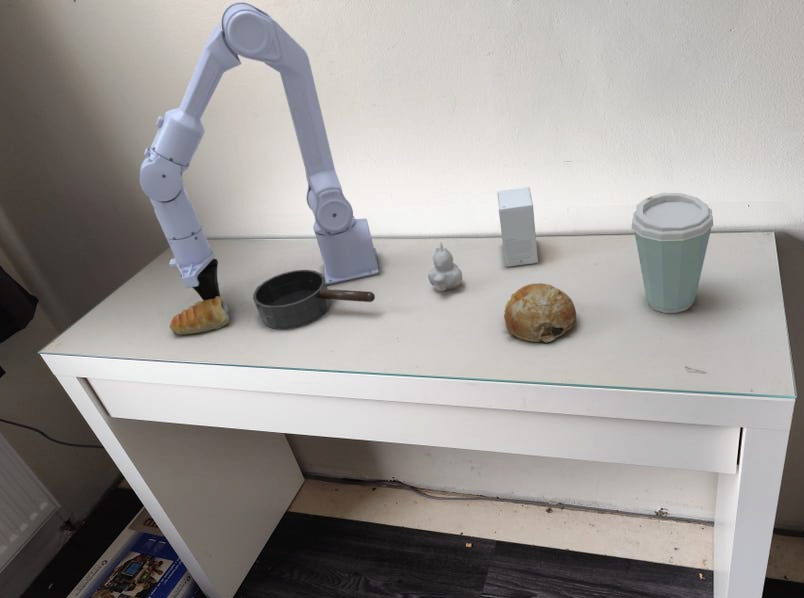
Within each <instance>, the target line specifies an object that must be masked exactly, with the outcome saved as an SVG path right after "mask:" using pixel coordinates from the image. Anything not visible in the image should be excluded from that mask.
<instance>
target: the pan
mask: <svg viewBox="0 0 804 598" xmlns="http://www.w3.org/2000/svg"><path fill="white" fill-rule="evenodd" d="M321 289H329V287H328V285H327V283H326V280H325V275H323V273H321V272H319V271H317V270H314V269H313V270H312V269H296V270H291V271H286V272H282V273H279V274H277V275H275V276H273V277H271V278H268V279H267V280H265V281H263V282H262V283H261V284H260V285H258V286H257V287H256V289H255V290H254V291H253V294H252V300H253V303H254V306H255V308H256V311H257V313H258V317H259V319H260V321H261V322H262V324H263V325H265V327H267V328H269V329H274V330H292V329H296V328H297V329H298V328H300V327H303V326H307V325H310V324H311V323H313V322H316V321H317V320H319V319H320V318H322V317H323V316H324V315H325V314H326V313H327V312H328V311H329V310H330V308H331V306H332V300H331V299H321V298H320V297H319V292H320V290H321Z"/></svg>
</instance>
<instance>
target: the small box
mask: <svg viewBox="0 0 804 598" xmlns="http://www.w3.org/2000/svg"><path fill="white" fill-rule="evenodd" d="M496 194H497V201H498V215H499V216H498V217H499V223H500V225H499V226H500V233H501V241H502V249H503V257H504V264H505V267H506V268H509V267H516V266H525V265H533V264H538V263H539V255H538V246H537V245H538V244H537V234H536V224H535V223H536V222H535V213H534V212H535V211H534V203H533V198H532V193H531V188H530V187H527V186H526V187H519V188H513V189H505V190H504V189H503V190H498V191H497V192H496Z"/></svg>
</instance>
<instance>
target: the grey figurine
mask: <svg viewBox="0 0 804 598" xmlns="http://www.w3.org/2000/svg"><path fill="white" fill-rule="evenodd" d="M432 261H433V266H434V267H432V268H431V269H430V270H429V272H428V274H427V278H428V281H429V283H430V285H432V286H434V287H435V288H436V290H437V291H445V290H452V289H455V288H456V287H458V286H460V284H461V282H462V281H463V273H462V270H461V269H460V268H459V266H458V264H456V263H454V258H453V254H452V253H451V252H450V251H449V250H448V249H447V248H444V246H443V243H442V242H440V244H439V248H437V247H436V248H435V250H434V253H433V256H432Z"/></svg>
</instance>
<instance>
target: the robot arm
mask: <svg viewBox="0 0 804 598" xmlns="http://www.w3.org/2000/svg"><path fill="white" fill-rule="evenodd" d="M220 24H221V25H220ZM239 56H240V57H242V58H245V59H248V60H252V61H256V62H262V63H264V65H267V67H269V68H271V69H273V70H275V71H276V72H278V73H279V74H280V78H281V82H282V86H283V90H284V93H285V97H286V102H287V105H288V109H289V113H290V116H291V120H292V124H293V128H294V132H295V135H296V136H295V137H296V139H297V143H298V147H299V151H300V155H301V159H302V161H303V162H302V163H303V165H304V166H303V167H304V171H305V176H306V177H305V178H306V181H307V192H306V197H305V198H306V203H307V206H308V208H309V209H310V210H311V212H312V214H313V216H314V220H315V221H314V224H313V225H312V228H313V231H314V234H315V239H316V241H317V245H318V248H319V253H320V255H321V258H322V261H323V269H324V277H325V280H326V283H327V286H328V285H332V284H333V285H334V284H336V283H341V282H346V281H350V280H356V279H360V278H364V277H369V276H374V275H378V274H379V272H380V271H379V266H378V260H377V259H378V258H379V257H378V252H377V249H376V247H374V242H373V238H372V234H371V230H370V226H369V222H368V219H367V218H355V216H354V209H353V207H352V204H351V203H350V202H349V200H348V199H347V198H346V196H345V195H344V193H343V192H344V191H343V188H342V185H341V182H340V179H339V176H338V174H337V171H336V168H335V164H334V163H335V162H334V159H333V155H332V150H331V147H330V143H329V139H328V135H327V130H326V125H325V122H324V117H323V113H322V109H321V105H320V101H319V97H318V93H317V87H316V84H315V79H314V75H313V71H312V66H311V63H310V58H309V55H308V53H307V52H306V50H305V49H304V47H302V46H301V45H300V44H299V43H298V42H297V41H296V40H295V39H294V37H292V36H291V35H290V34H289V33H288V32H287V31H286V30H285V28H283V27H282V26H281V25H280V24H279V23H278V22H277V21H276V20H275V19H274V18H273V17H272V16H271V15H270V14H269V13H268V12H266V11H263V10H262V9H260V8H258V7H256V6H255V5H252V4H250V3H248V2H244V1H241V2H240V1H239V2H234V3H232V4H230V5H228V6H227V7H226V9H224V11H223V13H222V16H221V21H220V23H217V24H216V26H215V27H214V29H212V32H211V33H210V35H209V37H208V39H207V40H206V42H205V43H204V46H203V48H202V51H201V52H200V56H199V58H198V60H197V63H196V65H195V68H194V71H193V73H192V75H191V78H190V80H189V83H188V85H187V88H186V90H185V93H184V94H183V97H182V100H181V102H180V105H179V106H178V107H176V108H173V109H169V110H166V112H165V113H164V116H161V115H159V116H158V117H157V120H156V123H155V127H157V128H158V129H157V132H156V134H155V136H154V139H153V141H152V143H151V146H150V147H146V148H145V150H144V152H143V153H144V154H143V155H144V156H145V157H146V158H144V159H143V161H142V163H141V165H140V170H139V171H140V172H139V185H140V189H141V190H142V192H143V193H144V194H145V196H147V197H148V198H149V201H150V203H151V205H152V206H153V209H154V211H153V212H154V214H155V216H156V218H157V220H158V223H159V226H160V227H161V230H162V232H163V234H164V236H165V238H166V241H167V243H168V245H169V248H170V250H171V252H172V255H173V258H171V259H170V261H169V262H168V263H169V264H168V265H169V266H170V268H177V269H178V270H179V273H180V278H181V281H182V283H183V286H184V287H185V289H191V288H192V289H193V290H194V291H195V292H196V293H197V294H198V296H199V297H200V298H201V299H202V301H204V300H210V299H215V297H216V296H219V297H221V293H220V287H219V282H218V281H219V280H218V265H219V261H218V259H217V258H215V252H214V250H213V248H212V247H211V246H210V243H209V241H208V238H207V236H206V233H205V231H204V228H203V226H202V223H201V221H200V219H199V216H198V213H197V211H196V209H195V206H194V204H193V201H192V199H191V198H190V197H189V195H188V192H187V189H186V188H185V185H184V181H183V180H184V179H183V173H184V172H185V171H187V170H188V169H189V167H190V165H191V163H192V161H193V159H194V156H195V154H196V152H197V150H198V148H199V146H200V145H201V142H202V139H203V138H204V135H205V132H206V130H205V127H204V125H203V122H202V120H201V119H202V117H203V115H204V113H205V111H206V109H207V107H208V105H209V103H210V101H211V99H212V97H213V95H214V93H215V91H216V89H217V87H218V85H219V83H220V81H221V79H222V77H223V75H224V74H225V73H226V72H228V71H229V70H233V69H234V68H236V67H238V66H240V65H242V62H241V59H240V58H239Z"/></svg>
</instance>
